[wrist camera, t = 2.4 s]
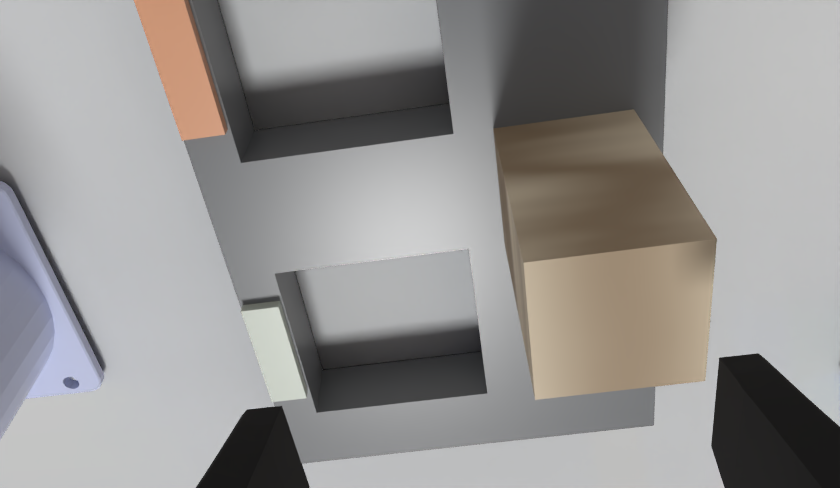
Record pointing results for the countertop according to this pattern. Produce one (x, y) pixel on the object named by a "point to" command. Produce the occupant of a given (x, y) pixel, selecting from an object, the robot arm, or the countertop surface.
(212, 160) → the dock
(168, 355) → the countertop surface
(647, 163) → the tan rectangular block
